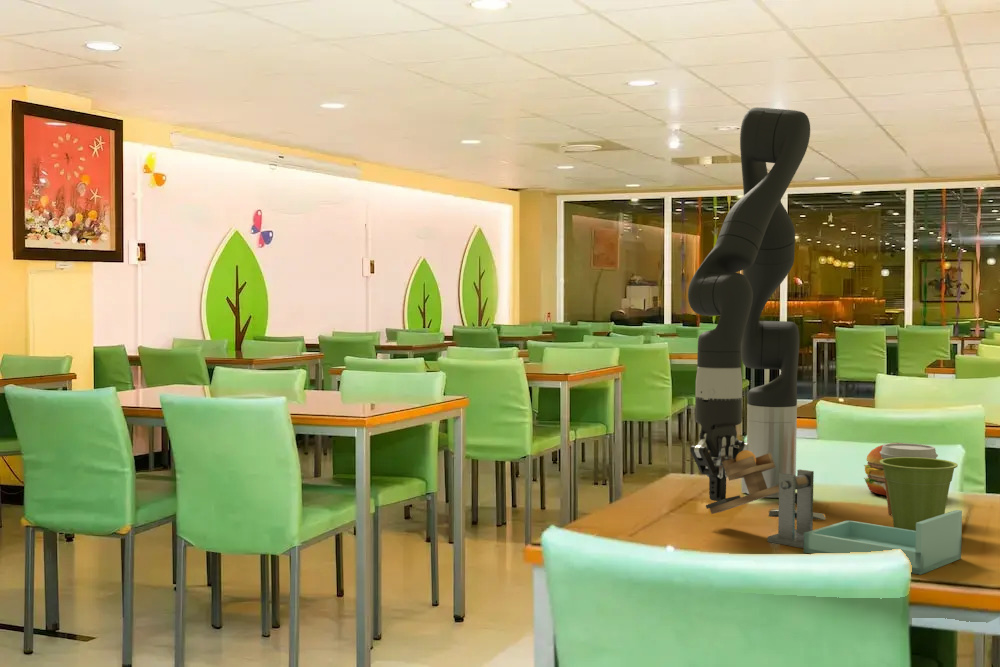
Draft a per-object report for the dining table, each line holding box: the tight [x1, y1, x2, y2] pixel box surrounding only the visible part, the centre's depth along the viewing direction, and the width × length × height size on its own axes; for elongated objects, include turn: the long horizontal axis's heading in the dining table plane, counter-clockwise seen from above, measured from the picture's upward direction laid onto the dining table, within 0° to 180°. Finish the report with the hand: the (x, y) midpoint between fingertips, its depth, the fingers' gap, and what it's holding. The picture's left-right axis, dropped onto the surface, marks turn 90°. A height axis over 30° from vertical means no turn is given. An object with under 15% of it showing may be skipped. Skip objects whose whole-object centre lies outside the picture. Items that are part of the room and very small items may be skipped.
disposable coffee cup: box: [880, 442, 939, 515], centre depth 191 cm, size 10×10×12 cm
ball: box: [736, 450, 756, 463], centre depth 176 cm, size 3×3×3 cm
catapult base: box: [767, 469, 815, 549], centre depth 170 cm, size 6×8×11 cm
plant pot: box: [880, 457, 959, 531], centre depth 178 cm, size 12×12×11 cm
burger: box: [863, 442, 890, 497], centre depth 212 cm, size 14×14×10 cm
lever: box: [705, 453, 809, 515], centre depth 175 cm, size 17×6×8 cm, turn 45°
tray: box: [803, 509, 963, 576], centre depth 160 cm, size 18×14×7 cm
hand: (717, 500), depth 180 cm, fingers closed
